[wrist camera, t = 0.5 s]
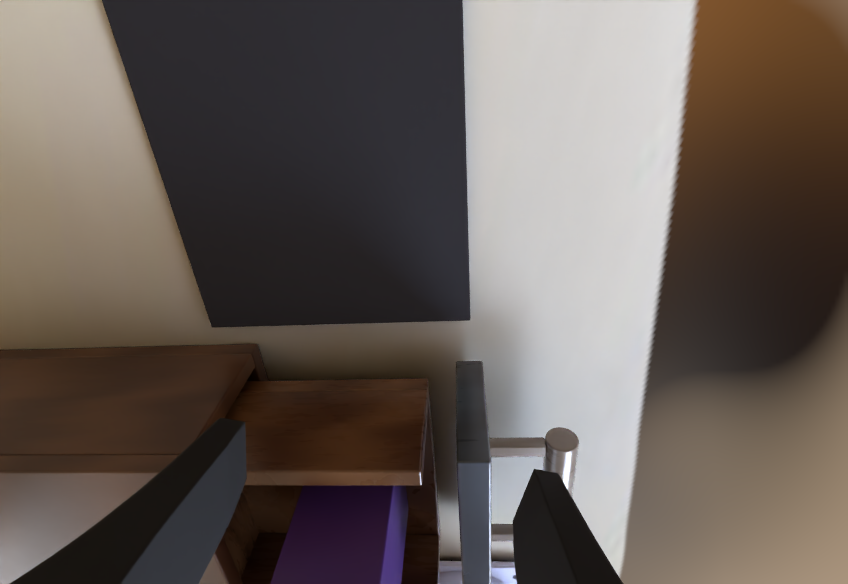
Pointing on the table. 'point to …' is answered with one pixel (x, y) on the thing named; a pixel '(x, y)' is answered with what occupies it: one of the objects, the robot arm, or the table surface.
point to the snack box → (345, 536)
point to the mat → (309, 153)
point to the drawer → (374, 464)
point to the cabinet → (102, 436)
